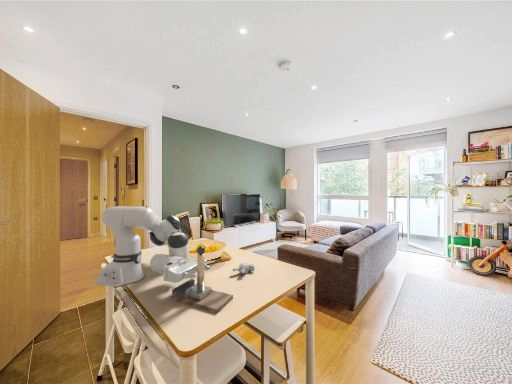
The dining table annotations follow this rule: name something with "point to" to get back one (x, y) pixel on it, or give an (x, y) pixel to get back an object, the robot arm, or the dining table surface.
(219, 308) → the press base
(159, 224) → the robot arm
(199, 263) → the grey upright rod
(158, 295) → the dining table surface
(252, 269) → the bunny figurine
